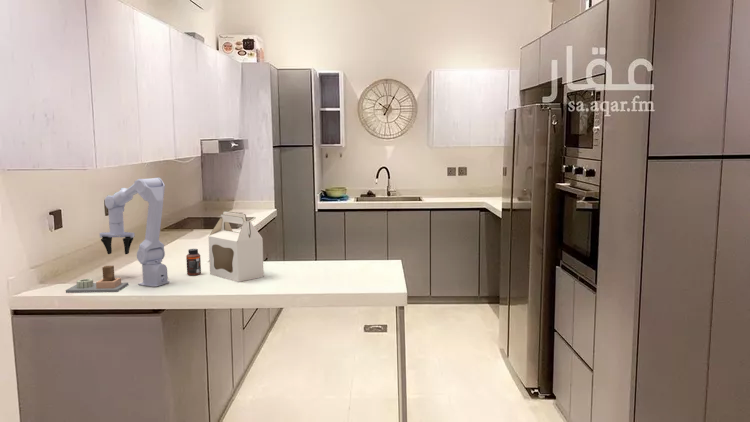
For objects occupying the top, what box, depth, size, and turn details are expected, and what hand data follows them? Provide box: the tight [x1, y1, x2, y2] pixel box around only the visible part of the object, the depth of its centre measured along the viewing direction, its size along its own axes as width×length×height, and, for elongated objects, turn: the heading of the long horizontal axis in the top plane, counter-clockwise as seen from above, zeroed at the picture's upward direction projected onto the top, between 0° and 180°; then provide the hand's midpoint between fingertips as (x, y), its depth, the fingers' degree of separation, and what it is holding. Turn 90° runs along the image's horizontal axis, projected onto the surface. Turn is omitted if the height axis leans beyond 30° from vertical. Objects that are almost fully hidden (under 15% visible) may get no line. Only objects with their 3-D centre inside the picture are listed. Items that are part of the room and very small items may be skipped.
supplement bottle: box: [185, 248, 202, 276], centre depth 253 cm, size 6×6×11 cm
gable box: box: [208, 210, 265, 283], centre depth 249 cm, size 22×13×28 cm, turn 48°
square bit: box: [101, 265, 116, 281], centre depth 229 cm, size 3×3×8 cm
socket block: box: [65, 277, 129, 294], centre depth 229 cm, size 20×11×4 cm, turn 92°
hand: (118, 253), depth 247 cm, fingers open, 7 cm apart
